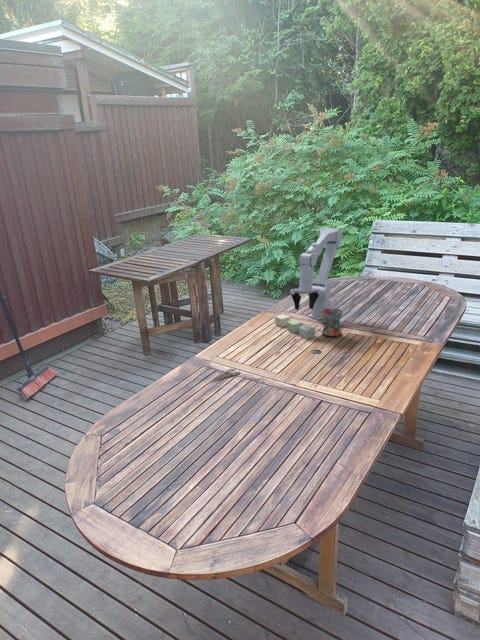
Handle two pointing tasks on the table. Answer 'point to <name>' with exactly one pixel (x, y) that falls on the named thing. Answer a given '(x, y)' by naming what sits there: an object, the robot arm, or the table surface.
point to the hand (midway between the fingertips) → (303, 308)
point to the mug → (331, 321)
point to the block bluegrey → (307, 331)
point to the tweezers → (226, 375)
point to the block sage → (293, 325)
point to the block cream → (281, 320)
